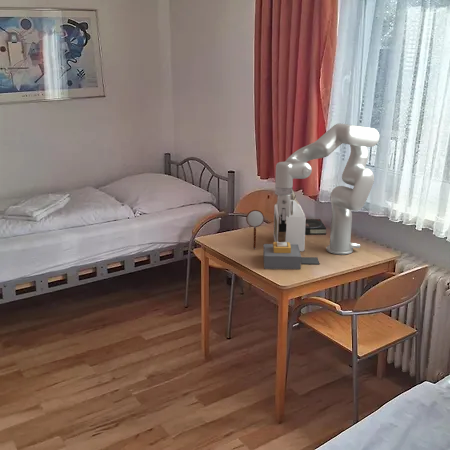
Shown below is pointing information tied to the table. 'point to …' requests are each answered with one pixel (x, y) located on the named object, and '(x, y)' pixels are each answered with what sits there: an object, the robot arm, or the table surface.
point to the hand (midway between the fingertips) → (282, 230)
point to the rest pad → (310, 260)
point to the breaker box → (281, 256)
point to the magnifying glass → (255, 221)
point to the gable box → (292, 223)
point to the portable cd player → (314, 227)
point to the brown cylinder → (281, 233)
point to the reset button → (281, 244)
